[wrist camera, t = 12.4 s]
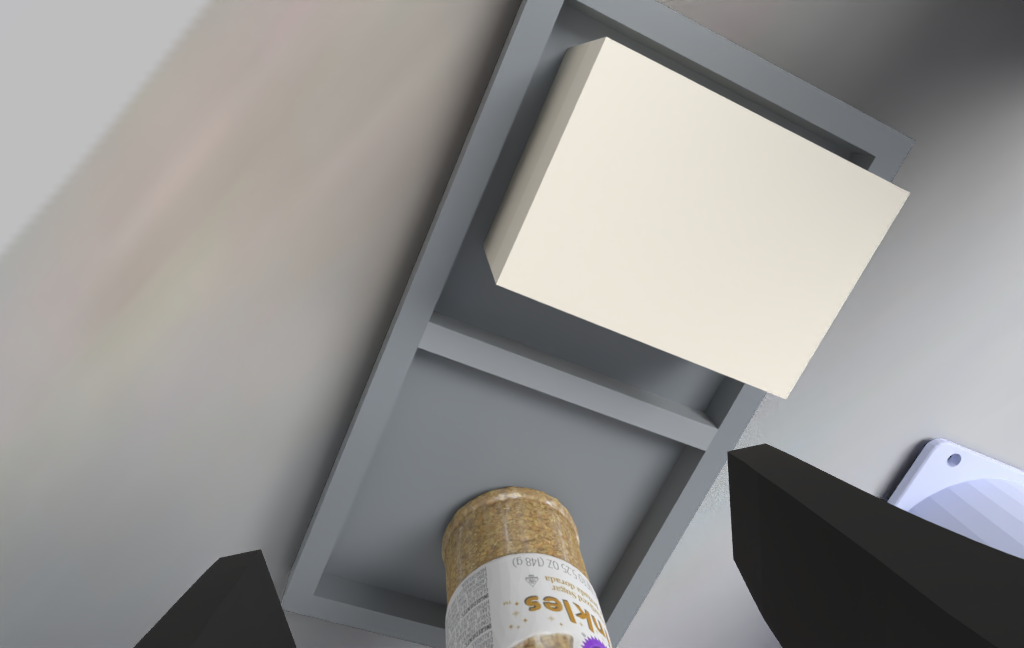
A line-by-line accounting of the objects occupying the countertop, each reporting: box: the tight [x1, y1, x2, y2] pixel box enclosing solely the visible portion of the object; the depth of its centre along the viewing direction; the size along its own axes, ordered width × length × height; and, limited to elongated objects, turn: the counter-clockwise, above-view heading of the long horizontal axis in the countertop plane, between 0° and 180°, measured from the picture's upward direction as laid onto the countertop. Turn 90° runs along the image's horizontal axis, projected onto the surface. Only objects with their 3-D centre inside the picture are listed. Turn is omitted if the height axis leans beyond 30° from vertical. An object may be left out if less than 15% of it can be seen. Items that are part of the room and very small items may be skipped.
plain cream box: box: [483, 37, 910, 399], centre depth 17 cm, size 8×6×4 cm
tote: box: [281, 0, 915, 648], centre depth 20 cm, size 11×20×2 cm, turn 156°
